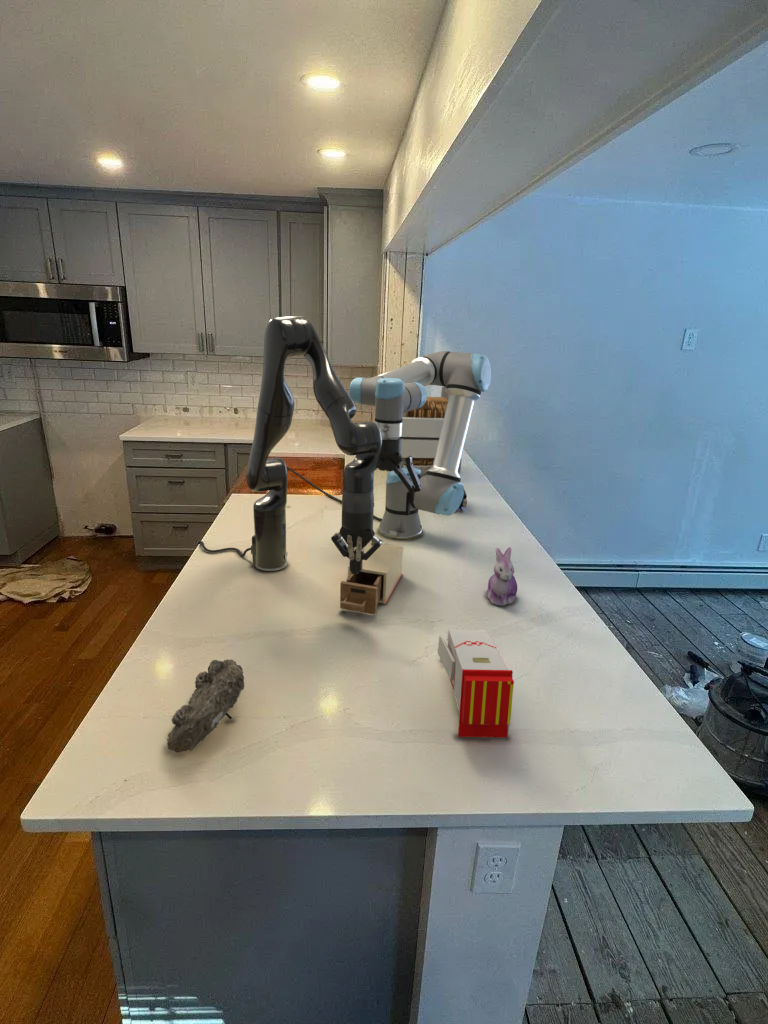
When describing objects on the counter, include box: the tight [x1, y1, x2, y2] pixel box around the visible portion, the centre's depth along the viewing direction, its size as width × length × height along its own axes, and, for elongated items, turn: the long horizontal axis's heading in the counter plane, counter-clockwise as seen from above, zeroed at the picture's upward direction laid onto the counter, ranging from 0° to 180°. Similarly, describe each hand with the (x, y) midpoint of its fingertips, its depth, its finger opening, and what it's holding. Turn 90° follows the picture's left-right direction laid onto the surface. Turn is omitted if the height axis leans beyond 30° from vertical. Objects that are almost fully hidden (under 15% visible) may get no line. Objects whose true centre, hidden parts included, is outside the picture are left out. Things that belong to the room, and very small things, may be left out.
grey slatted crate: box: [399, 386, 463, 476], centre depth 268 cm, size 34×33×41 cm
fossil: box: [166, 658, 245, 754], centre depth 106 cm, size 22×10×15 cm
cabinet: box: [347, 541, 404, 605], centre depth 160 cm, size 18×11×9 cm, turn 165°
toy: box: [437, 628, 515, 738], centre depth 117 cm, size 12×13×30 cm
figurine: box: [486, 546, 518, 606], centre depth 155 cm, size 9×10×15 cm
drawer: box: [339, 572, 384, 615], centre depth 150 cm, size 23×10×7 cm, turn 165°
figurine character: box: [457, 489, 468, 512], centre depth 228 cm, size 7×8×15 cm
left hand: (355, 573), depth 140 cm, fingers closed
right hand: (384, 510), depth 161 cm, fingers open, 13 cm apart
